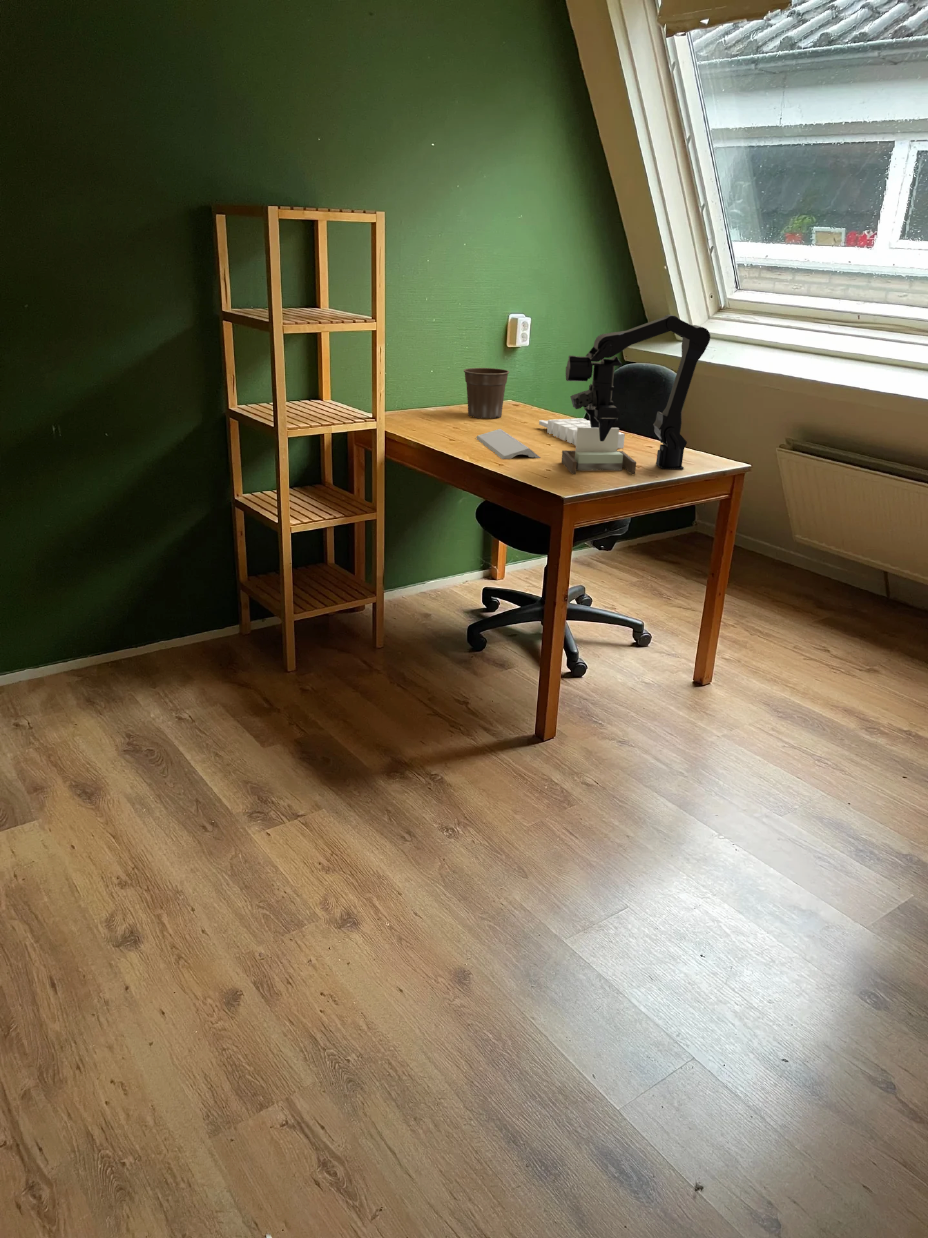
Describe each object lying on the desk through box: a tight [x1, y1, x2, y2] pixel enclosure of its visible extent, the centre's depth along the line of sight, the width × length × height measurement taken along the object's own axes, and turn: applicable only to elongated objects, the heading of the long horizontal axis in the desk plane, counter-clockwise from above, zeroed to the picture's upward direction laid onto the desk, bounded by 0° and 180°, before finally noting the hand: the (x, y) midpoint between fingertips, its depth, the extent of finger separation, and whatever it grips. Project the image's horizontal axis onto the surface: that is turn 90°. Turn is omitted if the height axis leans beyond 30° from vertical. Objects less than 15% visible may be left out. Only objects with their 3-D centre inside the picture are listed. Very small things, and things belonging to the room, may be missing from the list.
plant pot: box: [463, 367, 510, 419], centre depth 324 cm, size 16×16×16 cm
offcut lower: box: [576, 463, 623, 471], centre depth 257 cm, size 13×4×2 cm, turn 98°
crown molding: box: [475, 428, 541, 460], centre depth 279 cm, size 29×12×4 cm, turn 15°
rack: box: [561, 450, 637, 475], centre depth 258 cm, size 18×14×4 cm
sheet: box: [574, 427, 620, 452], centre depth 259 cm, size 12×1×11 cm, turn 96°
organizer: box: [538, 417, 626, 450], centre depth 296 cm, size 13×5×35 cm
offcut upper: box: [575, 452, 623, 464], centre depth 256 cm, size 13×4×2 cm, turn 100°
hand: (597, 437), depth 258 cm, fingers open, 9 cm apart
